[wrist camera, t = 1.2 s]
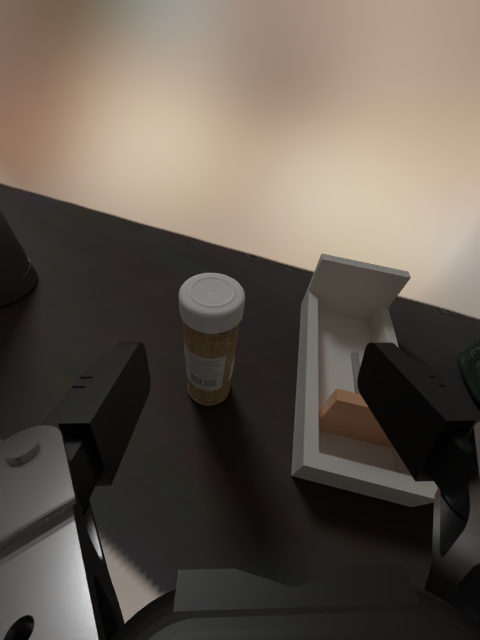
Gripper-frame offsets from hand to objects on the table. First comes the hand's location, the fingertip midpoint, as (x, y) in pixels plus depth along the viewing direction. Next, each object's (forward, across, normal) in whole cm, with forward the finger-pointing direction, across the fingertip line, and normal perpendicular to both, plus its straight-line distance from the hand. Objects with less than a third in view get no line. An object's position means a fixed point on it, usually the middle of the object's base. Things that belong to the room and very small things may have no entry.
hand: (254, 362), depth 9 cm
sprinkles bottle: (+14, +3, +13) cm, 19 cm away
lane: (+16, -12, +14) cm, 24 cm away
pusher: (+13, -11, +14) cm, 22 cm away
